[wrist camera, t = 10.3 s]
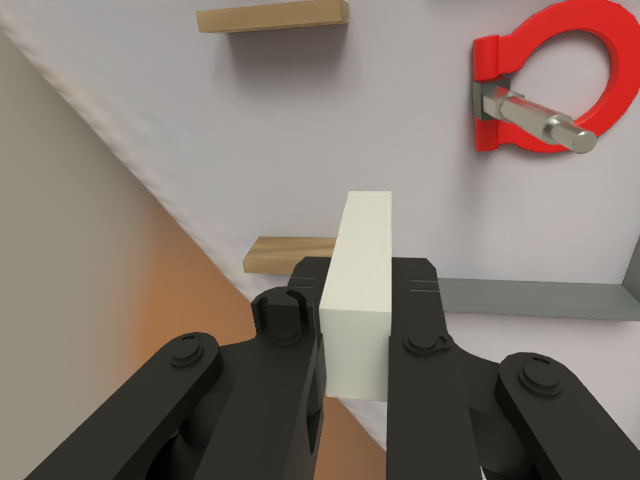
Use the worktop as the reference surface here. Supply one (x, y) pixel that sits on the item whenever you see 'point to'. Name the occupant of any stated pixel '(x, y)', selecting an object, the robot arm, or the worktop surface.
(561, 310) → the grey piece
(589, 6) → the tow hook
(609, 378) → the worktop surface
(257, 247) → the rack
